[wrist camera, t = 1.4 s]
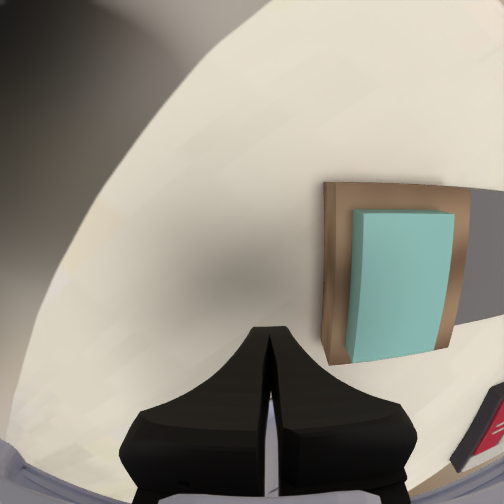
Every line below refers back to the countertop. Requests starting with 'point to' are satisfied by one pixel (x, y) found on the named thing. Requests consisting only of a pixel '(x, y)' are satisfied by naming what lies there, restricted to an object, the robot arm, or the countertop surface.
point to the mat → (483, 259)
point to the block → (397, 281)
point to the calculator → (483, 433)
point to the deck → (340, 249)
